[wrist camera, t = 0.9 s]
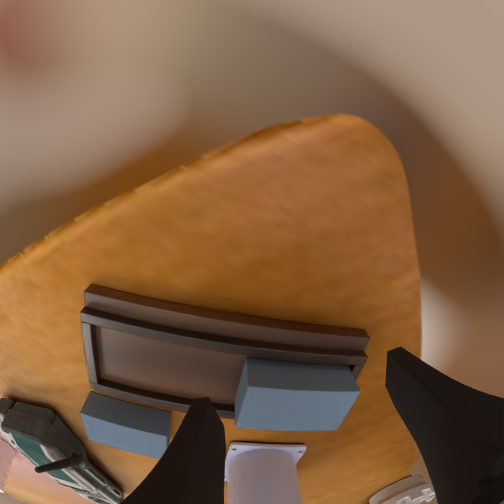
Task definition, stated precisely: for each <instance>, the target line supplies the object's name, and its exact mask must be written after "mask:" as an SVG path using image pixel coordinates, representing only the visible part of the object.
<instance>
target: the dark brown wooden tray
mask: <svg viewBox="0 0 504 504" xmlns="http://www.w3.org/2000/svg"><path fill="white" fill-rule="evenodd" d="M84 300H85V307H84V308H83V309H82V310H81V312H80V315H81V325H82V334H83V343H84V350H85V357H86V364H87V370H88V376H89V381H90V386H91V388H93V389H95V391H98V392H101V393H104V394H108V395H111V396H115V397H118V398H122V399H126V400H130V401H133V402H137V403H142V404H146V405H150V406H155V407H159V408H164V409H169V410H174V411H180V412H185V413H187V411H188V409H189V407H190V405H191V403H192V401H193V400H194V399H197V398H204V397H209V399H210V401H211V403H212V404H213V406H214V408H215V410H216V412H217V414H218V416H219V418H227V419H235V397H236V393H237V390H238V386H239V382H240V379H241V375H242V371H243V368H244V364H245V360H246V358H247V357H249V358H256V359H265V360H274V361H284V362H294V363H307V364H321V365H338V366H349V368H350V370H351V373H352V375H353V377H354V379H355V381H356V379H357V377H358V376H359V374H360V372H361V370H362V368H363V366H364V364H365V362H366V360H367V358H368V357H367V355H366V353H365V352H364V351H365V348H366V346H367V344H368V342H369V340H370V337H369V335H368V334H367V332H366V331H365V330H362V329H351V328H341V327H331V326H322V325H314V324H305V323H297V322H290V321H282V320H275V319H268V318H261V317H254V316H248V315H241V314H235V313H229V312H223V311H217V310H211V309H206V308H200V307H195V306H189V305H184V304H179V303H174V302H169V301H164V300H159V299H154V298H149V297H144V296H140V295H135V294H131V293H126V292H122V291H117V290H113V289H109V288H105V287H101V286H96V285H92V284H90V285H89V287H88V288H87V289H86V290H85V291H84Z"/></svg>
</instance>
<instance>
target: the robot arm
mask: <svg viewBox="0 0 504 504" xmlns="http://www.w3.org/2000/svg"><path fill="white" fill-rule="evenodd" d="M385 386H386V388H387V390H388V393H389V395H390V398H391V400H392V402H393V404H394V406H395V408H396V410H397V411H398V413H399V415H400V416H401V418H402V420H403V421H404V423H405V425H406V427H407V428H408V430H409V432H410V433H411V435H412V437H413V438H414V440H415V442H416V444H417V446H418V448H419V450H420V452H421V455H422V457H423V459H424V462H425V465H426V467H427V470H428V473H429V475H430V478H431V481H432V485H433V488H434V491H435V495H436V498H437V502H438V504H504V398H501V397H497V396H493V395H490V394H487V393H484V392H481V391H478V390H476V389H473V388H471V387H468V386H466V385H464V384H462V383H460V382H458V381H456V380H454V379H452V378H450V377H448V376H446V375H445V374H443V373H441V372H439V371H438V370H436V369H435V368H433V367H431V366H430V365H428V364H427V363H425V362H423V361H422V360H420V359H419V358H417V357H416V356H414V355H413V354H411V353H410V352H408V351H407V350H405V349H404V348H402V347H398V348H395V349H393V350H390V351H387V368H386V383H385ZM306 449H307V447H306V445H288V444H258V443H243V442H232V443H231V444H230V447H229V450H228V453H227V456H226V442H225V430H224V425H223V423H222V421H221V420H220V418H219V416H218V414H217V412H216V410H215V408H214V406H213V404H212V403H211V401H210V399H209V397H204V398H197V399H194V400H193V401H192V403H191V405H190V407H189V409H188V411H187V413H186V415H185V417H184V419H183V421H182V423H181V425H180V427H179V429H178V431H177V432H176V434H175V436H174V438H173V439H172V441H171V443H170V445H169V446H168V448H167V449H166V451H165V452H164V454H163V455H162V457H161V459H160V460H159V461H158V463H157V464H156V466H155V467H154V468H153V469H152V471H151V472H150V473H149V474H148V476H147V477H146V478H145V479H144V480H143V481H142V482H141V484H140V485H139V486H138V487H137V488H136V489H135V490H134V491H133V492H132V493H131V494H130V495H129V496H128V497H126V498H125V499H124V500H123V501H122V502H121V503H119V504H224V482H227V486H228V504H303V503H302V497H301V492H300V487H299V481H298V476H297V471H296V464H297V462H298V461H299V459H300V458H301V456H302V455H303V453H304V452H305V450H306ZM225 458H226V459H225Z"/></svg>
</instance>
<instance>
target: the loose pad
mask: <svg viewBox="0 0 504 504" xmlns="http://www.w3.org/2000/svg"><path fill="white" fill-rule="evenodd" d="M80 415H81V418H82V421H83V424H84V427H85V430H86V433H87V436H88V439H89V440H92V441H95V442H98V443H101V444H104V445H107V446H111V447H114V448H118V449H121V450H125V451H128V452H132V453H136V454H140V455H145V456H149V457H153V458H158V459H161V457H162V455H163V454H164V452H165V451H166V449H167V448H168V446H169V442H170V432H171V412H169V411H164V410H159V409H155V408H150V407H146V406H142V405H138V404H134V403H130V402H126V401H122V400H118V399H115V398H111V397H108V396H104V395H101V394H98V393H95V392H91V391H90V393H89V395H88V397H87V399H86V401H85V403H84V405H83V407H82V410H81V412H80Z"/></svg>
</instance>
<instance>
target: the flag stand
mask: <svg viewBox="0 0 504 504" xmlns="http://www.w3.org/2000/svg"><path fill="white" fill-rule="evenodd" d="M434 497H435V491H434V488H433V485H432V484H431V483H425V480H424V478H423V476H422V475H415V476H411V477H408V478H405V479H403V480H400V481H398V482H396V483H394V484H392V485H390V486H388V487H386V488H384V489H382V490H381V491H379V492H378V493H376V494H375V495H373V496H372V497H371V498H370V500H369V502H370V504H420V502H422V501H423V500H425V501H426V502H428V501H430V500H432V499H433V498H434Z"/></svg>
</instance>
